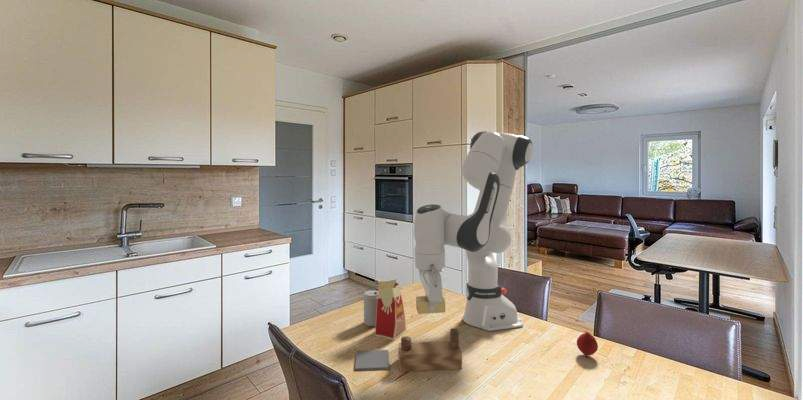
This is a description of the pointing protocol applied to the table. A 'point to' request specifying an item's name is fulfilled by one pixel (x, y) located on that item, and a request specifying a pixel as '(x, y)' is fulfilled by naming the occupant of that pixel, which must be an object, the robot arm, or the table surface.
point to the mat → (372, 360)
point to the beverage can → (370, 308)
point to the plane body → (430, 354)
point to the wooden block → (423, 305)
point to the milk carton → (389, 311)
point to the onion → (587, 344)
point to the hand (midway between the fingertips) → (430, 306)
